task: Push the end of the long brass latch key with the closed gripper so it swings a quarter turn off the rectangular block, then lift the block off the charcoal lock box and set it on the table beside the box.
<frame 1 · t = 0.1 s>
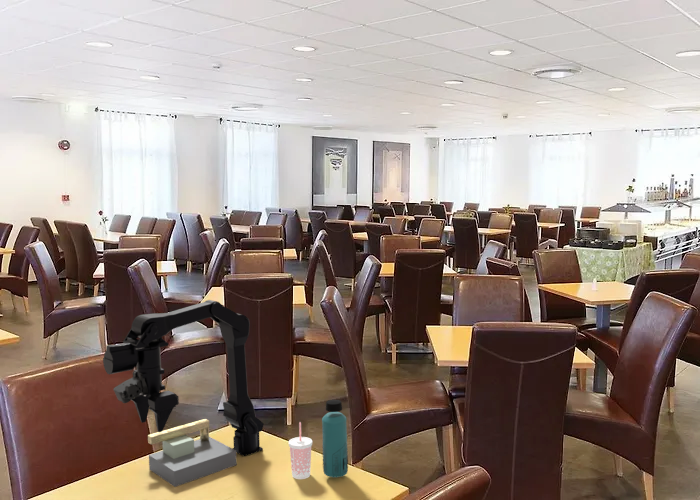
hand: (151, 426, 159), 14 cm above the table, fingers open, 9 cm apart
lock box: (193, 467, 168), on the table
rectangular block: (178, 452, 169), point 4 cm above the table, touching lock box
beverage cup: (301, 475, 163), on the table
beverage bottle: (335, 478, 161), on the table
latch key: (180, 437, 171), point 7 cm above the table, hinge at 0.0°
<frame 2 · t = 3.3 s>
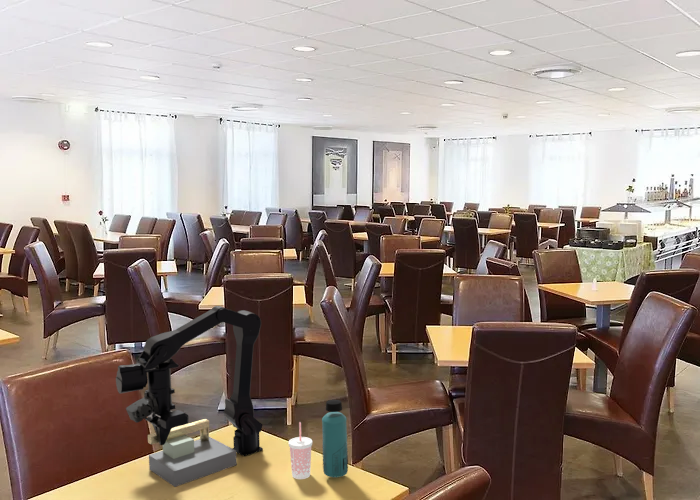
hand: (162, 444, 165), 8 cm above the table, fingers closed
latch key: (179, 437, 171), point 7 cm above the table, hinge at 0.2°, touching gripper
everything else where it was.
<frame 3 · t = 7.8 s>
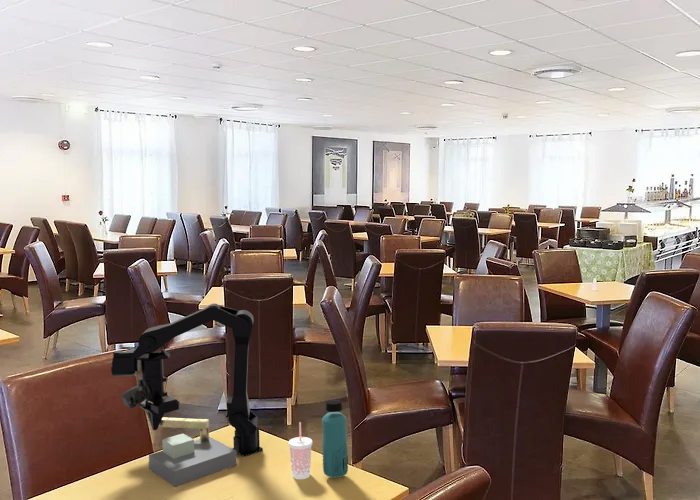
hand: (154, 429, 175), 8 cm above the table, fingers closed
latch key: (179, 428, 177), point 7 cm above the table, hinge at 52.0°, touching gripper
everything else where it was.
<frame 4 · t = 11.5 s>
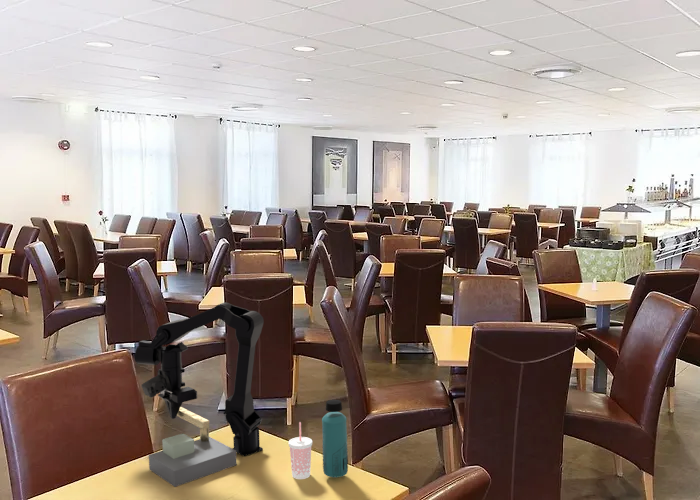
hand: (173, 418, 184), 8 cm above the table, fingers closed, pressing on latch key
latch key: (191, 423, 181), point 7 cm above the table, hinge at 90.2°, touching gripper
everything else where it was.
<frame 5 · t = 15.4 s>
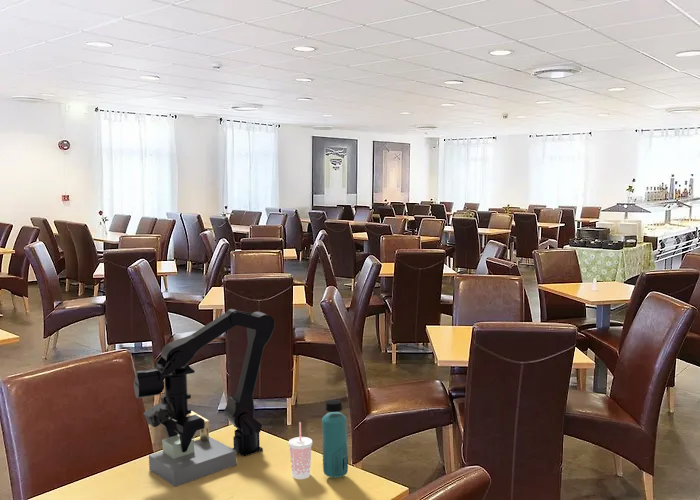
hand: (178, 448, 168), 5 cm above the table, fingers closed on rectangular block, 6 cm apart
rectangular block: (178, 452, 169), point 4 cm above the table, touching gripper, lock box
latch key: (192, 422, 182), point 7 cm above the table, hinge at 93.3°
everything else where it was.
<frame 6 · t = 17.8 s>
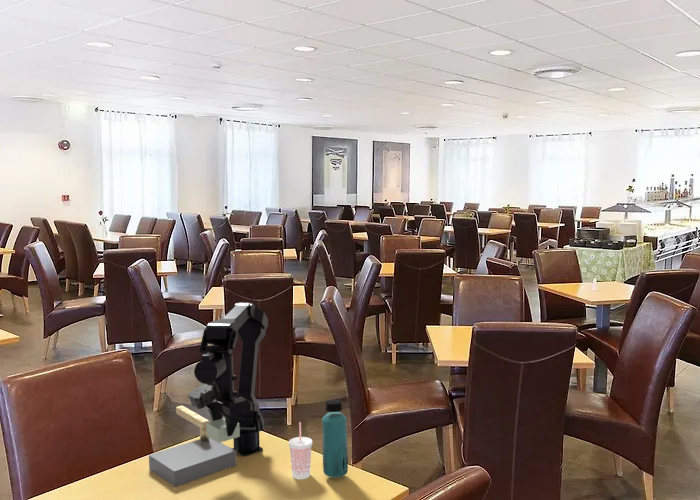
hand: (223, 432, 161), 12 cm above the table, fingers closed on rectangular block, 6 cm apart
rectangular block: (223, 436, 161), point 11 cm above the table, touching gripper
everything else where it was.
when the fingers open (3 cm above the table, at t = 20.2 s): rectangular block drops 2 cm, on the table.
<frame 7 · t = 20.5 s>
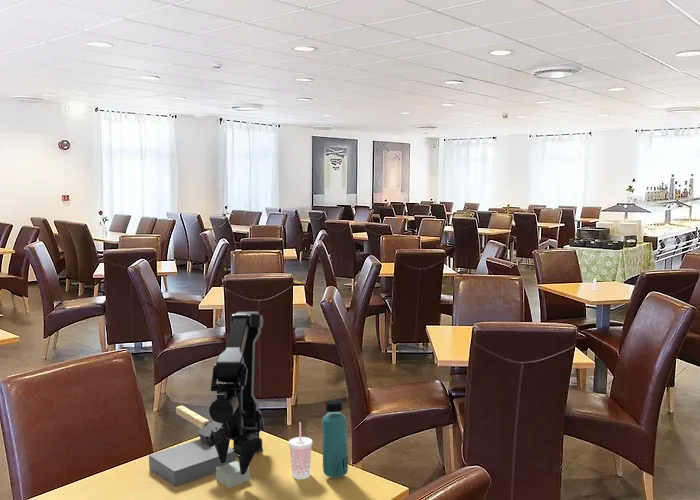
hand: (232, 468, 160), 3 cm above the table, fingers open, 9 cm apart
rectangular block: (232, 481, 161), on the table
everything else where it was.
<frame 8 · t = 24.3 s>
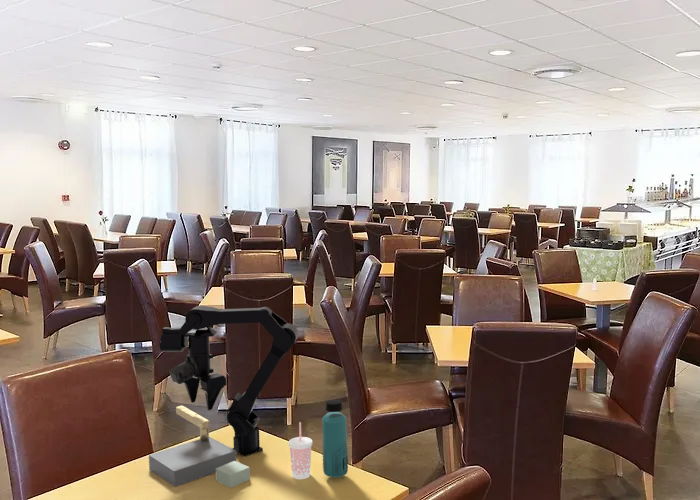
hand: (201, 405, 178), 13 cm above the table, fingers open, 9 cm apart
nothing on the table moved.
at the end: latch key at +93° (first picture: +0°); rectangular block inside the target area (0.1 cm from its centre), on the table; the gripper is holding nothing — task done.
